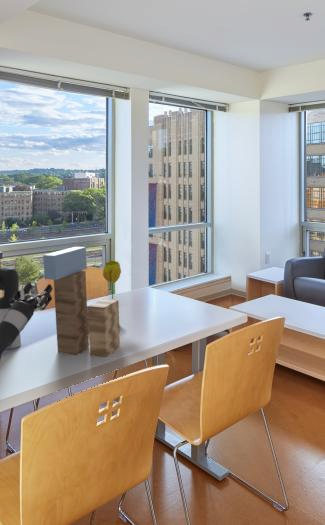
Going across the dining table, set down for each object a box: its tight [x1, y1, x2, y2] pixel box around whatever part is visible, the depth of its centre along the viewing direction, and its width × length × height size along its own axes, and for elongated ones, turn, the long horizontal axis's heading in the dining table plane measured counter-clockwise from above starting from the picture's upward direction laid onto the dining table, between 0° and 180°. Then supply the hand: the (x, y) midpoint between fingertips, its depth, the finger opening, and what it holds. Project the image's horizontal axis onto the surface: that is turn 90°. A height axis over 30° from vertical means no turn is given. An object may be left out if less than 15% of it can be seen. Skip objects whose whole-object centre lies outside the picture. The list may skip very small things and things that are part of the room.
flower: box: [102, 260, 122, 300], centre depth 223 cm, size 9×8×30 cm
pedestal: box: [53, 270, 90, 356], centre depth 188 cm, size 9×9×32 cm
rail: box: [42, 246, 88, 281], centre depth 183 cm, size 22×5×9 cm, turn 158°
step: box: [87, 298, 121, 358], centre depth 187 cm, size 12×7×20 cm, turn 158°
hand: (40, 285), depth 168 cm, fingers open, 8 cm apart
